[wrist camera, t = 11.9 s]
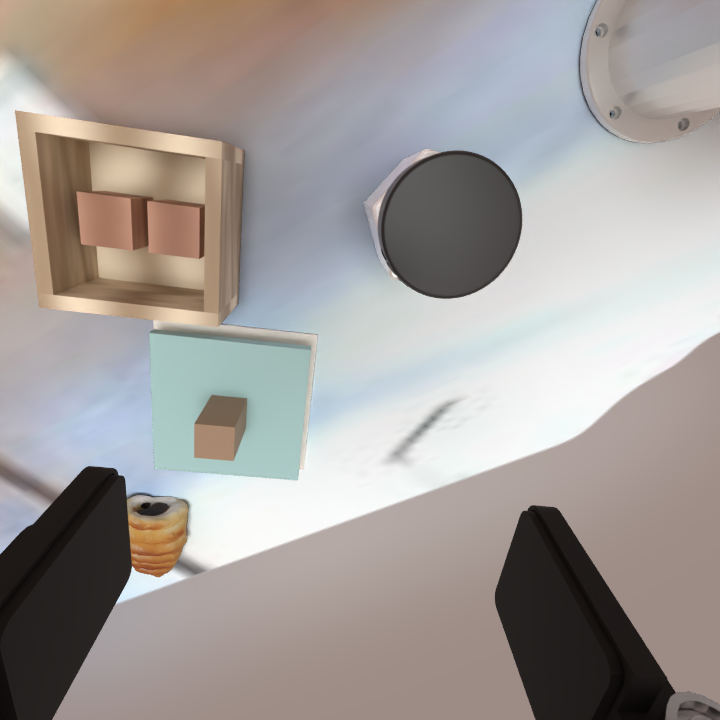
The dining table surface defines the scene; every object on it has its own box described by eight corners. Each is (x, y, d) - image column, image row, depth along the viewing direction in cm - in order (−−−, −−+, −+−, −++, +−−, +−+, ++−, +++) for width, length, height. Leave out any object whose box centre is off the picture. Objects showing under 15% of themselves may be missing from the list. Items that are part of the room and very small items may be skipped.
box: (244, 150, 34) (222, 141, 27) (238, 303, 38) (218, 327, 32) (79, 125, 33) (14, 110, 26) (91, 286, 37) (39, 307, 30)
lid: (312, 340, 39) (307, 373, 32) (299, 464, 44) (292, 517, 37) (160, 324, 38) (121, 354, 31) (164, 453, 43) (130, 505, 36)
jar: (351, 253, 37) (358, 282, 26) (376, 148, 34) (395, 129, 23) (453, 278, 38) (501, 315, 27) (484, 178, 35) (552, 174, 24)
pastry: (190, 565, 48) (178, 595, 45) (126, 560, 48) (109, 589, 44) (192, 495, 45) (179, 521, 42) (123, 488, 45) (104, 514, 41)
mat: (317, 334, 39) (317, 335, 39) (303, 467, 44) (303, 469, 44) (154, 316, 38) (153, 317, 38) (158, 455, 43) (157, 457, 43)
